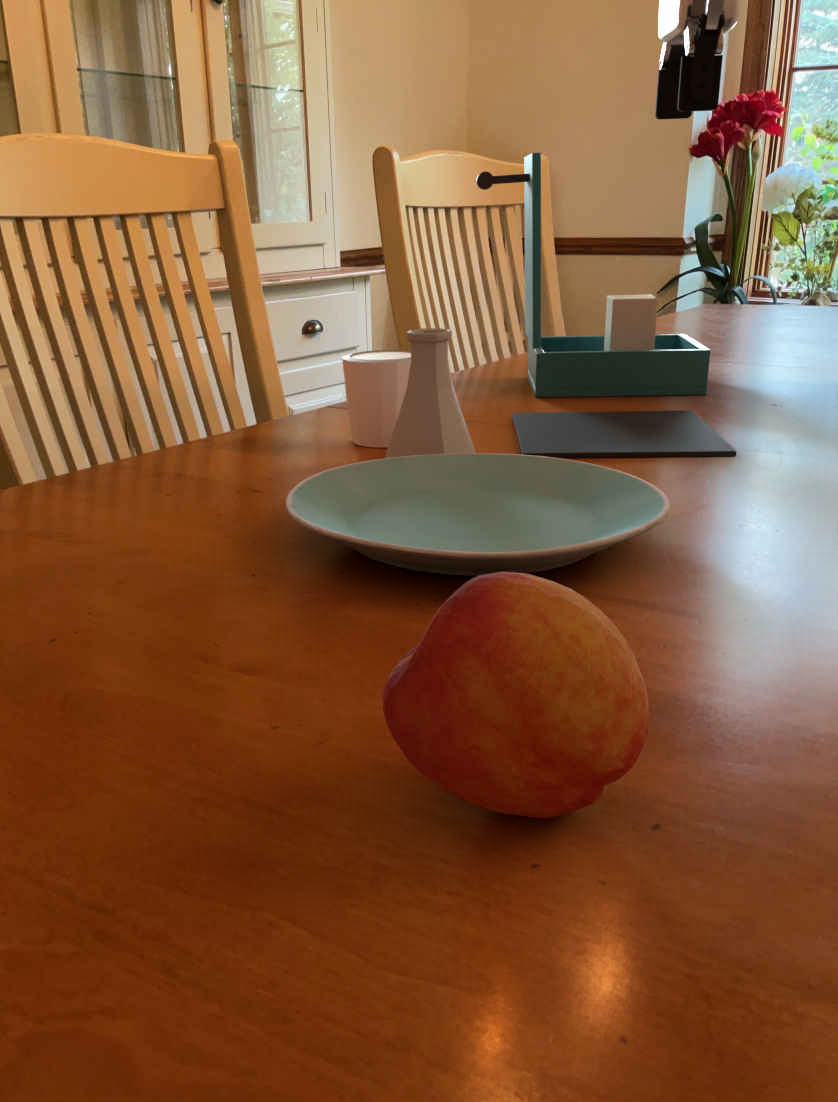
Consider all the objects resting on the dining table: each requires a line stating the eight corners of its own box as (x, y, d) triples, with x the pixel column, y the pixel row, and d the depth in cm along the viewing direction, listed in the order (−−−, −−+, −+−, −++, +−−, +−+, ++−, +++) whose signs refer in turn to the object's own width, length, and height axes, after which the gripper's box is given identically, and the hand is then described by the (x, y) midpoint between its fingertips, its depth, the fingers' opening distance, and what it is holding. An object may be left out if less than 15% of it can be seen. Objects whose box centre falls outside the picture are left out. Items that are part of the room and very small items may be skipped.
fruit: (484, 719, 41) (487, 522, 38) (678, 787, 36) (701, 566, 33) (349, 805, 35) (340, 582, 32) (556, 898, 30) (569, 646, 27)
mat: (692, 414, 93) (692, 410, 93) (736, 456, 79) (736, 450, 79) (512, 417, 95) (512, 412, 95) (522, 458, 80) (522, 453, 80)
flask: (494, 462, 79) (497, 326, 75) (452, 485, 73) (452, 338, 70) (410, 454, 83) (408, 323, 79) (364, 474, 77) (359, 335, 73)
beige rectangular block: (644, 373, 110) (650, 294, 107) (651, 380, 106) (658, 298, 103) (602, 374, 110) (607, 295, 107) (607, 381, 106) (612, 299, 103)
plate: (542, 475, 75) (543, 436, 74) (751, 565, 56) (757, 514, 55) (244, 514, 68) (241, 471, 67) (368, 633, 49) (367, 576, 48)
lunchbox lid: (532, 156, 106) (475, 160, 107) (541, 152, 95) (477, 157, 96) (532, 332, 113) (478, 335, 114) (540, 348, 102) (481, 351, 102)
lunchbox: (681, 374, 114) (684, 333, 112) (706, 394, 102) (710, 349, 100) (527, 376, 115) (528, 336, 113) (535, 397, 103) (536, 353, 102)
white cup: (380, 453, 83) (378, 363, 80) (328, 440, 88) (324, 355, 85) (443, 439, 87) (443, 353, 84) (389, 428, 92) (387, 346, 89)
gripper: (784, -157, 76) (756, 105, 82) (725, -97, 92) (705, 120, 98) (679, -152, 76) (659, 109, 83) (638, -92, 92) (624, 122, 99)
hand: (684, 114), depth 91 cm, fingers open, 9 cm apart
